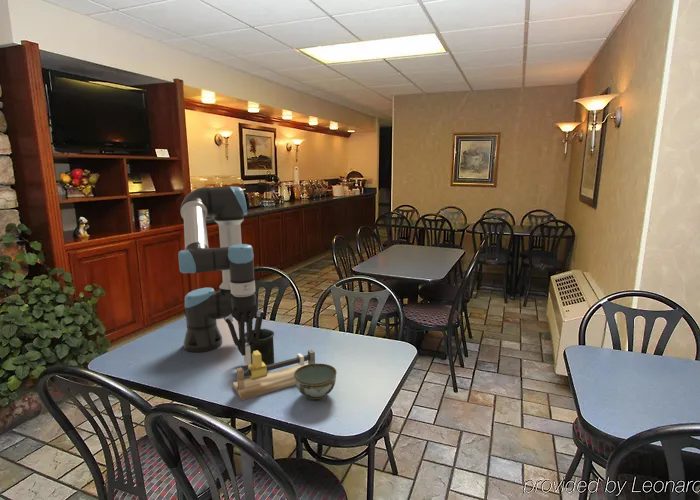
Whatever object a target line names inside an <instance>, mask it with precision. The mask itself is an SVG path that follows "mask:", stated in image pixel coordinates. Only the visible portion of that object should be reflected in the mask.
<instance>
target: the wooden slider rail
mask: <svg viewBox="0 0 700 500" xmlns="http://www.w3.org/2000/svg"><path fill="white" fill-rule="evenodd" d="M307 355H309V356H310V360H307V362H304V365H303V366H305V365H308V364H316V351H314V350H313V349H309V350H307ZM300 367H302V366H301V365H299V364H298V365H297V364H296V365H293V366H289V367H286V368H282V369H279V370H275V371H270V372H267V377H263V378H259V379H256V380H252V379H251V378H250V377H248V378H245V377H244V371H245V370H244V369H243V368H242V367H237V368H236V381H233V382H232V385H233V388H234V390H235V391H236V393H237V395H238V396H239V398H240V399H241V400H242V401H244V400H248V399H252V398H255V397H259V396H261V395H265V394H268V393H271V392H276V391H279V390H282V389H286V388H289V387H292V386H293V387H294V386H297V385H296V380H295V377H294V373H295V371H296V370H297V369H298V368H300Z"/></svg>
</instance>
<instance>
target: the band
mask: <svg viewBox="0 0 700 500" xmlns="http://www.w3.org/2000/svg"><path fill="white" fill-rule="evenodd" d="M304 356H305V355H303V354H302V353H300V352H299V353H296V358H297V357H298V358H299V359H300V363H297V364H298V365H301V366H303V365H304V363H305V361H304Z"/></svg>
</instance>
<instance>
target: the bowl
mask: <svg viewBox="0 0 700 500" xmlns="http://www.w3.org/2000/svg"><path fill="white" fill-rule="evenodd" d="M337 373H338V372H337V369H336V368H335V367H334V366H332V365H330V364H326V363H315V364H308V365H305V366H302V367H300V368H298V369H297V370H296V371H295V373H294V377H295V380H296V385H295V386H296V387H297V389H298V391H299V392H300V393H301V394H302V395H303V396H305V397H306V399H308V400H309V401H312V402H313V401H314V402H316V401H317V402H319V401H321V400H324V399H325V398H326V396H327V395H328V394H330V393H331V391H333V389H334V387H335V385H336V379H337Z"/></svg>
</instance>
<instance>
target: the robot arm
mask: <svg viewBox="0 0 700 500" xmlns="http://www.w3.org/2000/svg"><path fill="white" fill-rule="evenodd" d="M179 210H180V216H181V218H182V219H183V227H184V228H183V234H184V236H183V237H184V249H181V250H179V251H178V253H177V255H178V257H177V258H178V266H179V267H178V268H179V272H180V273H181V274H197V273H206V272H207V273H208V272H218V271H220V272H221V274H222V275H221V276H222V282H221V284H220V285H219V290H216V291H215V289H214V288H213V287H210V286H208V287H201V288H197V289H193V290H191V291H189V292H188V293H186V295H185V296H184V308H185V309H184V310H185V311H184V312H185V321H186V332H185V336H184V340H183V348H184V350H185V351H187V352H191V353H203V352H208V351H212V350H215V349H217V348H219V347H220V346H222V345H223V336H222V334H221V332H220V329H219V328H218V327H219V326H218V325H217V320H222V319H223V320H224V322H226V323H225V324H227V326H228V328H229V332H230V336H231V338H232V341H233V343H234V345H235V346H236V347H238V346H240V351H241V353H240V355H241V356H243V362H244V364H245V365H246V366H247V365H251V354H252V353H253V345H254V342H257V341H258V340H259V335H260V330H261V329H262V325H263V324H262V322H263V319H264V318H265V315H266V313H265V312H264V311H263V310H262V309H261V310H259V308H258V307H257V298H256V297H257V295H256V293H255V292H256V281H255V266H254V265H255V263H254V258H255V255H254V248H253V246H252V245H251V244H248V243H243V242H242V227H241V224H242V223H243V222H244V221H245V220H244V219H245V218H244V217H245V216H247V215H248V207H247V201H246V197H245V192H244V191H243V189H242V187H239V186H231V185H230V186H210V187H209V186H208V187H207V186H203V187H199V188H198V187H197V188H196V189H194V190H191V192H189V193H188V194H187V195H186V196H185V197H184V199H183V201H182V202H181V204H180V208H179ZM207 217H210V218H211V217H213V220H214V222H215V223H216V224H217V225H218V230H219V231H218V232H219V233H218V234H219V247H211V248H210V247H209V241H208V230H207V221H206V218H207ZM255 317H256V318H255ZM233 318H234V319H235V320H236V322H237V325H238V334H237V331H236V328H235V326H234V324H233V322H234V319H233ZM253 319H255V324H254V323H253ZM253 324H254V328H253ZM245 326H246V329H245ZM245 330H246V332H247V341H248V343H245V333H246V332H245ZM253 330H254V333H253Z"/></svg>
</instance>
